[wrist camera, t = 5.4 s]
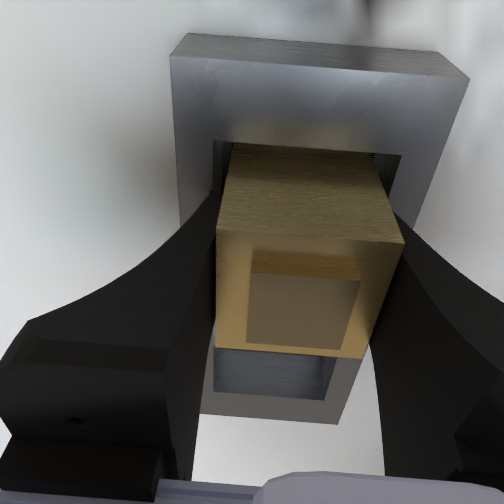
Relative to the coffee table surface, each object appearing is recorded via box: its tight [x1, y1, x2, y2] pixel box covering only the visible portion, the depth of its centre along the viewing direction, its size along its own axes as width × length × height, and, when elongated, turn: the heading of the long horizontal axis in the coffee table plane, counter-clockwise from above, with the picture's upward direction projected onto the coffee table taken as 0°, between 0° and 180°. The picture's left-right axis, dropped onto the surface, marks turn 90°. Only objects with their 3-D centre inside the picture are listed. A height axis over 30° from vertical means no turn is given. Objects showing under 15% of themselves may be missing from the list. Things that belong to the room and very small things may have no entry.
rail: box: [169, 33, 470, 425], centre depth 15 cm, size 7×16×2 cm, turn 177°
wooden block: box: [216, 142, 405, 359], centre depth 12 cm, size 4×4×6 cm
